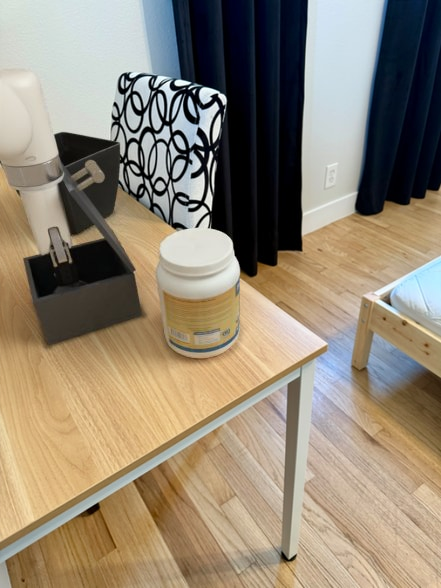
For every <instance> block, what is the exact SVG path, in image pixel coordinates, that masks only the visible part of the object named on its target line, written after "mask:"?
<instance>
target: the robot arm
mask: <svg viewBox="0 0 441 588" xmlns="http://www.w3.org/2000/svg"><path fill="white" fill-rule="evenodd" d="M47 107H48V106H47V103H46V99H45V95H44V91H43V88H42V84H41V82H40V80H39V78H38V76H37V75H36V74H35V73H34V72H33V71H30V70H28V69H24V68H4V69H0V161H1V164H2V166H3V168H2V170H3V171H4V172H3V173H4V174H5V177H6V181H7V184H8V186H9V188H11V189H12V190H15V191H16V190H19V192H20V196H21V197H20V196H19V197H20V199H21V202H22V206H23V209H24V213H25V215H26V218H27V221H28V224H29V227H30V230H31V234H32V236H33V239H34V242H35V245H36V247H37V251H38V254H41V255H44V254H47V253H48V254H49V257H50V260H51V263H52V266H53V270H54V273H55V276H56V279H57V282H58V285H59V287H63V286H67V285H70V284H74V283H77V282H79V279H78V275H77V272H76V268H75V265H74V261H73V260H72V259H71V255H70V252H69V249H70V248H71V247H72V246H73V241H72V236H71V235H72V234H71V233H70V230H69V226H68V221H67V217H66V213H65V209H64V205H63V201H62V197H61V193H60V190H59V186H58V183H59V182H61V181H62V180H63V177H64V172H63V168H62V164H61V160H60V156H59V153H58V149H57V145H56V141H55V137H54V134H55V133H54V130H53V126H52V123H51V119H50V114H49V111H48V108H47ZM1 164H0V165H1ZM2 166H1V167H2ZM68 247H69V248H68ZM65 252H66V254H65ZM55 253H56V255H57V256H55V255H54V254H55Z"/></svg>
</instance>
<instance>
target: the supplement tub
mask: <svg viewBox="0 0 441 588" xmlns="http://www.w3.org/2000/svg"><path fill="white" fill-rule="evenodd" d="M158 252H159V253H158V254H159V255H158V259H159V261H158V262H157V265H156V268H155V280H156V285H157V292H158V299H159V300H158V301H159V307H160V313H161V320H162V326H163V334H164V338H165V340H166V343H167V344H168V346H169V347H170V348H171V349H172V350H173V351H175V352H176V353H177V354H179V355H181V356H184V357H188V358H193V359H209V358H213V357H216V356H219V355H221V354H223V353H225V352H227V351H228V350H229V349H231V348H232V347H233V346H234V344H235V343H236V341H237V340H238V337H239V335H240V331H241V324H240V323H241V267H240V264H239V263H240V262H239V261H238V259H237V256H235V250H234V243H233V240H232V239H231V237H230V236H228V235H227V234H226V233H225V232H222V231H220V230H217V229H213V228H208V227H192V228H191V227H190V228H185V229H181V230H178V231H175V232H173V233H171V234H169V235H167V236H166V237H165V238H163V240H162V241H161V242H160V244H159V248H158Z"/></svg>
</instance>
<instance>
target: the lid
mask: <svg viewBox="0 0 441 588" xmlns="http://www.w3.org/2000/svg"><path fill="white" fill-rule="evenodd" d="M61 164H62V162H61ZM62 168H63V172H64V177H63V181H64V183H65V185H66V187H67V189H68V191H69V193H70V194H71V196H72V197H73V198H74V199H75V201H76V202H77V203H78V204H79V206H80V207H81V208H82V210H83V211H84V212H85V213H86V215H87V216H88V217H89V219H90V220H91V221H92V222H93V224H94V225H93V226H95V228H96V229H97V230H98V232H100V234H101V235H102V236H103V238H105V239H106V240H107V242H108V243H109V244H110V245H111V247H112V248H113V249H114V250H115V252H116V253H117V254H118V256H119V257H120V258H121V259H122V261H123V262H124V263H125V265H126V266H127V267H128V268H129V270H130V271H131V272H132V273H133V272H134V273H135V272H136V271H137V269H136V267H135V266H134V264H133V262H132V260H131V259H130V256H129V255H128V254H127V251H126V250H125V249H124V247H123V245H122V243H121V242H120V240H119V238H118V236H117V235H116V233H115V232H114V230H113V229H112V228H111V226H110V224H108V222H107V221H106V220H105V218H103V217H102V216H101V214H100V213H99V212H98V210H97V209H96V208H95V206H94V205H93V204H92V202H91V201H90V200H89V198H88V197H87V196H86V194H85V193H84V192H83V189H84V188H86V187H87V186H89V185H90V184H92V183H93V182H96V183H101V182H103V180H104V178H105V176H104V173H103V172H102V171H101V169H100V168H99V166H98V165H97V163H96V162H95V161H93V160H88V161H87V162H86V163H85V168H83V169H82V170H80V171H78V172H77V173H75V174H74V175H72V176H71V174H70V173H69V172H68V170H67V169H66V168H65V166H64V165H63V164H62ZM87 173H89V175H90V176H91V177H90V178H88V179H86V180H85V181H83V182H82V183H80V184H79V185H78V184H77V182H76V180H78V179H79V178H81V177H82V176H84V175H85V174H87Z"/></svg>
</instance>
